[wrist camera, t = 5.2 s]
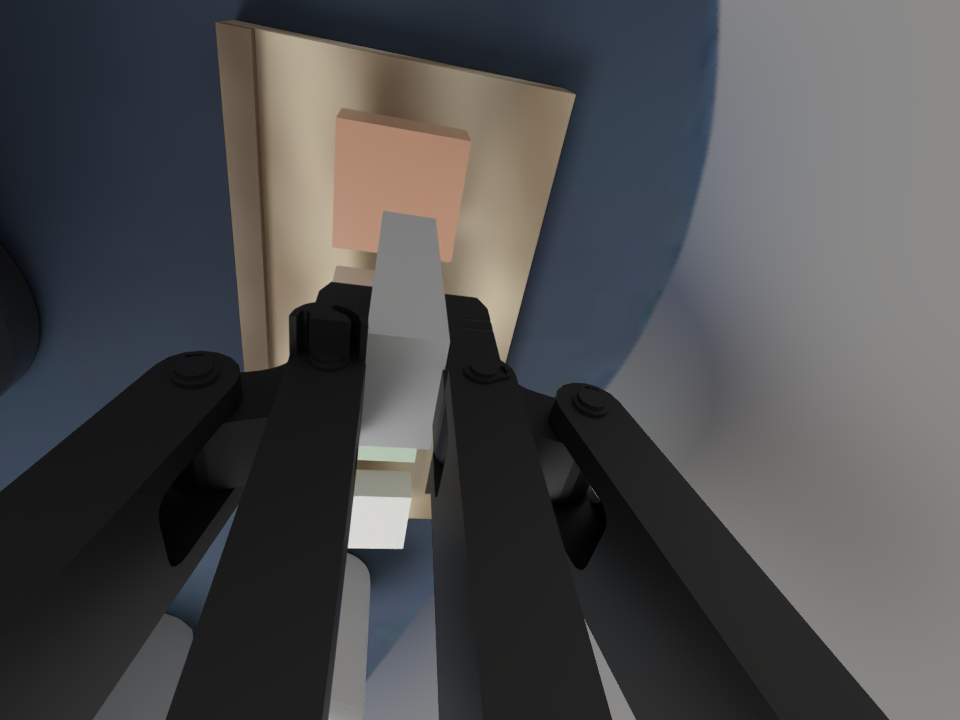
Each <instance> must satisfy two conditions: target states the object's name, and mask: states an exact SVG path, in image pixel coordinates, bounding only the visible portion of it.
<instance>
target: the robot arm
mask: <svg viewBox="0 0 960 720" xmlns="http://www.w3.org/2000/svg"><path fill="white" fill-rule="evenodd" d="M38 342H39V319H38V314H37V309H36V306H35V302H34V299H33V297H32V294H31V292H30V289H29V287H28V285H27V283H26V281H25V279H24V277H23V276H22V274H21V272H20V270H19V269H18V267H17V266H16V264H15V263H14V261H13V260H12V258H11V257H10V256H9V254H8V253H7V252H6V250H5V249H4V248H3V247H2V245H1V244H0V397H1V396H2V395H3V394H4V393H5V392H6V391H7V390H8V389H9V388H10V387H11V386H12V385H13V384H14V383H15V382H16V381H17V380H18V379H20V377H21V376H22V375H23V374H24V373H25V372H26V371H27V369H28V368H29V366H30V365H31V363H32V361H33V359H34V357H35V354H36V351H37V347H38ZM432 435H433V454H432V459H431V464H430V469H429V475H428V480H427V485H426V490H425V494H430V493H431V515H432V543H433V570H434V597H435V624H436V649H437V650H436V651H437V677H438V704H439V720H612V718H611V714H610V710H609V707H608V703H607V700H606V696H605V692H604V689H603V686H602V682H601V678H600V675H599V671H598V667H597V664H596V660H595V657H594V653H593V649H592V646H591V642H590V639H589V635H588V632H587V628H586V624H585V621H586V623H587V625H588V627H589V629H590V631H591V632H592V634H593V636H594V638H595V640H596V642H597V644H598V646H599V648H600V650H601V652H602V654H603V656H604V658H605V660H606V662H607V664H608V666H609V668H610V669H611V671H612V673H613V675H614V677H615V679H616V681H617V683H618V685H619V687H620V689H621V691H622V693H623V695H624V697H625V699H626V701H627V703H628V704H629V706H630V708H631V710H632V712H633V714H634V716H635V718H636V720H889V719H888V718H887V716H886V715H885V714H884V713H883V712H882V710H881V709H880V708H879V707H878V706H877V705H876V703H875V702H874V701H873V700H872V699H871V698H870V697H869V695H868V694H867V693H866V692H865V691H864V689H863V688H862V687H861V686H860V685H859V683H858V682H857V681H856V680H855V679H854V678H853V676H852V675H851V674H850V673H849V672H848V671H847V670H846V668H845V667H844V666H843V665H842V663H841V662H840V661H839V660H838V659H837V658H836V657H835V656H834V654H833V653H832V652H831V650H830V649H829V648H828V647H827V646H826V645H825V644H824V642H823V641H822V640H821V639H820V638H819V636H818V635H817V634H816V633H815V632H814V630H813V629H812V628H811V627H810V626H809V625H808V623H807V622H806V621H805V620H804V619H803V618H802V616H801V615H800V614H799V613H798V612H797V610H795V608H794V607H793V606H792V605H791V604H790V602H789V601H788V600H787V599H786V598H785V596H784V595H783V594H782V593H781V592H780V590H779V589H778V588H777V587H776V586H775V585H774V583H773V582H772V581H771V580H770V579H769V578H768V576H767V575H766V574H765V573H764V572H763V570H762V569H761V568H760V567H759V566H758V565H757V563H756V562H755V561H754V560H753V559H752V558H751V556H750V555H749V554H748V553H747V552H746V551H745V549H744V548H743V547H742V546H741V545H740V544H739V543H738V541H737V540H736V539H735V538H734V536H733V535H732V534H731V533H730V532H729V530H728V529H727V528H726V527H725V526H724V525H723V523H722V522H721V521H720V520H719V519H718V518H717V516H716V515H715V514H714V513H713V512H712V511H711V509H710V508H709V507H708V506H707V505H706V503H705V502H704V501H703V500H702V499H701V498H700V496H699V495H698V494H697V493H696V492H695V490H694V489H693V488H692V487H691V486H690V485H689V483H688V482H687V481H686V480H685V479H684V478H683V476H682V475H681V474H680V473H679V472H678V470H677V469H676V468H675V467H674V466H673V465H672V463H671V462H670V461H669V460H668V459H667V458H666V456H665V455H664V454H663V453H662V452H661V451H660V449H659V448H658V447H657V446H656V445H655V443H654V442H653V441H652V440H651V439H650V438H649V436H647V434H646V433H645V432H644V431H643V429H642V428H641V427H640V426H639V425H638V424H637V422H636V421H635V420H634V419H633V418H632V416H631V415H630V414H629V413H628V412H627V411H626V409H625V408H624V407H623V406H622V405H621V403H620V402H619V401H618V400H617V399H615V398H614V397H613V396H612V395H611V394H610V393H608V392H606V391H604V390H602V389H600V388H599V387H596V386H592V385H589V384H584V383H571V384H566V385H563V386H562V387H561V388H560V389H559V390H557V393H556V396H555V398H554V397H550V396H547V395H544V394H540V393H537V392H534V391H531V390H529V389H526V388H524V387H522V386H520V385H519V384H518V381H517V377H516V375H515V373H514V372H513V370H512V368H511V367H509V366H508V365H507V364H506V363H504V362H503V361H501V360H500V356H499V352H498V348H497V344H496V340H495V336H494V332H493V328H492V324H491V322H490V316H489V312H488V309H487V308H486V307H485V305H484V304H483V303H482V302H481V301H480V300H479V299H478V298H475V297H467V296H459V295H451V294H444V285H443V277H442V268H441V259H440V251H439V242H438V234H437V225H436V219H435V218H428V217H422V216H415V215H408V214H402V213H395V212H388V211H383V215H382V222H381V229H380V237H379V244H378V251H377V259H376V266H375V273H374V281H373V287H372V286H363V285H355V284H347V283H338V282H330V283H329V284H328V285H326V286H325V287H323V288H322V289H321V290H319V293H318V296H317V299H316V302H312V303H307V304H304V305H302V306H299V307H297V308H295V309H294V310H293V311H292V312H291V314H290V315H289V359H288V362H287V363H285V364H283V365H280V366H277V367H274V368H271V369H265V370H259V371H250V372H240V369H239V365H238V364H237V363H236V362H235V361H234V360H233V359H232V358H231V357H228V356H225V355H223V354H220V353H216V352H207V351H196V352H185V353H181V354H178V355H174V356H171V357H168V358H166V359H164V360H163V361H161V362H159V363H158V364H156V365H154V366H153V367H152V368H151V369H150V370H148V371H147V372H146V373H145V374H143V375H142V376H141V377H140V378H139V379H137V380H136V381H135V382H134V383H132V384H131V385H130V386H129V387H128V388H126V389H125V390H124V391H123V392H122V393H120V394H119V395H118V396H117V397H115V398H114V399H113V400H112V401H111V402H109V403H108V404H107V405H106V406H104V407H103V408H102V409H101V410H100V411H98V412H97V413H96V414H95V415H93V416H92V417H91V418H90V419H89V420H87V421H86V422H85V423H84V424H82V425H81V426H80V427H79V428H78V429H76V430H75V431H74V432H73V433H71V434H70V435H69V436H68V437H67V438H65V439H64V440H63V441H62V442H61V443H59V444H58V445H57V446H56V447H54V448H53V449H52V450H51V451H50V452H48V453H47V454H46V455H45V456H43V457H42V458H41V459H40V460H39V461H37V462H36V463H35V464H34V465H32V466H31V467H30V468H29V469H28V470H26V471H25V472H24V473H23V474H21V475H20V476H19V477H18V478H17V479H15V480H14V481H13V482H12V483H10V484H9V485H8V486H7V487H6V488H4V489H3V490H2V491H1V492H0V720H93V719H94V717H95V716H96V714H97V713H98V711H99V710H100V708H101V707H102V705H103V704H104V702H105V701H106V699H107V698H108V696H109V695H110V693H111V692H112V691H113V689H114V688H115V686H116V685H117V683H118V682H119V680H120V679H121V677H122V676H123V674H124V673H125V671H126V670H127V668H128V667H129V665H130V664H131V662H132V661H133V659H134V658H135V657H136V655H137V654H138V652H139V651H140V649H141V648H142V646H143V645H144V643H145V642H146V640H147V639H148V637H149V636H150V634H151V633H152V631H153V630H154V628H155V627H156V625H157V624H158V623H159V621H160V620H161V618H162V617H163V615H164V614H165V612H166V611H167V609H168V608H169V606H170V605H171V603H172V602H173V600H174V599H175V597H176V596H177V594H178V593H179V591H180V590H181V589H182V587H183V586H184V584H185V583H186V581H187V580H188V578H189V577H190V575H191V574H192V572H193V571H194V569H195V568H196V566H197V565H198V563H199V562H200V560H201V559H202V557H203V556H204V555H205V553H206V552H207V550H208V549H209V547H210V546H211V544H212V543H213V541H214V540H215V538H216V537H217V535H218V534H219V532H220V531H221V529H222V528H223V526H224V525H225V523H226V522H227V520H228V519H229V518H230V516H231V515H232V513H233V512H234V510H235V509H236V507H237V506H238V508H237V511H236V514H235V517H234V520H233V523H232V526H231V529H230V532H229V535H228V538H227V541H226V544H225V547H224V549H223V552H222V555H221V558H220V561H219V564H218V567H217V570H216V573H215V576H214V579H213V582H212V585H211V588H210V591H209V593H208V596H207V599H206V602H205V605H204V608H203V611H202V614H201V617H200V620H199V623H198V626H197V629H196V632H195V634H194V637H193V640H192V643H191V646H190V649H189V652H188V655H187V658H186V661H185V664H184V667H183V670H182V673H181V676H180V678H179V681H178V684H177V687H176V690H175V693H174V696H173V699H172V702H171V705H170V708H169V711H168V714H167V717H166V720H328V718H329V709H330V700H331V691H332V683H333V674H334V665H335V656H336V647H337V638H338V630H339V621H340V612H341V603H342V594H343V585H344V577H345V568H346V559H347V550H348V541H349V532H350V523H351V515H352V506H353V497H354V488H355V479H356V470H357V460H358V448H359V445H361V446H378V447H395V448H412V449H429V450H430V446H431V441H432ZM592 488H593V490H594V491H595V493H596V494H597V496H598V497H599V498H598V497H597V496H596V494H595V493H594V491H593V490H592ZM238 504H239V505H238ZM584 619H585V621H584Z"/></svg>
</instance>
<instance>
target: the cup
mask: <svg viewBox="0 0 960 720" xmlns="http://www.w3.org/2000/svg"><path fill="white" fill-rule="evenodd" d="M192 640H193V632H192V629H191V628H190V627H189V626H188V625H186V624H185V623H184V622H183V621H182V620H181V619H179V618H176V617H173V616H171V615H168V614H164V615H163V617H162V618H161V620H160V621H159V623H158V624H157V625H156V627H155V628H154V630H153V631H152V633H151V634H150V636H149V637H148V639H147V640H146V642H145V643H144V645H143V646H142V648H141V649H140V651H139V652H138V654H137V655H136V657H135V658H134V659H133V661H132V662H131V664H130V665H129V667H128V668H127V670H126V671H125V673H124V674H123V676H122V677H121V679H120V680H119V682H118V683H117V685H116V686H115V688H114V689H113V691H112V692H111V693H110V695H109V696H108V698H107V699H106V701H105V702H104V704H103V705H102V707H101V708H100V710H99V711H98V713H97V714H96V716H95V717H94V719H93V720H166V717H167V714H168V711H169V708H170V705H171V702H172V699H173V696H174V693H175V690H176V687H177V684H178V681H179V678H180V676H181V673H182V670H183V667H184V664H185V661H186V658H187V655H188V652H189V649H190V646H191V643H192Z"/></svg>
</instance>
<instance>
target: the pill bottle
mask: <svg viewBox="0 0 960 720" xmlns="http://www.w3.org/2000/svg"><path fill="white" fill-rule="evenodd" d="M369 603H370V575H369V571H368V569H367V567H366V565H365V564H364V563H363V562H362V561H361V560H360V559H359V558H357V557H356V556H354V555H352V554H349V553H347V559H346V568H345V577H344V585H343V594H342V603H341V612H340V621H339V630H338V638H337V647H336V656H335V665H334V674H333V683H332V691H331V700H330V709H329V718H328V720H363V717H364V699H365V680H366V661H367V641H368V622H369Z"/></svg>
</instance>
